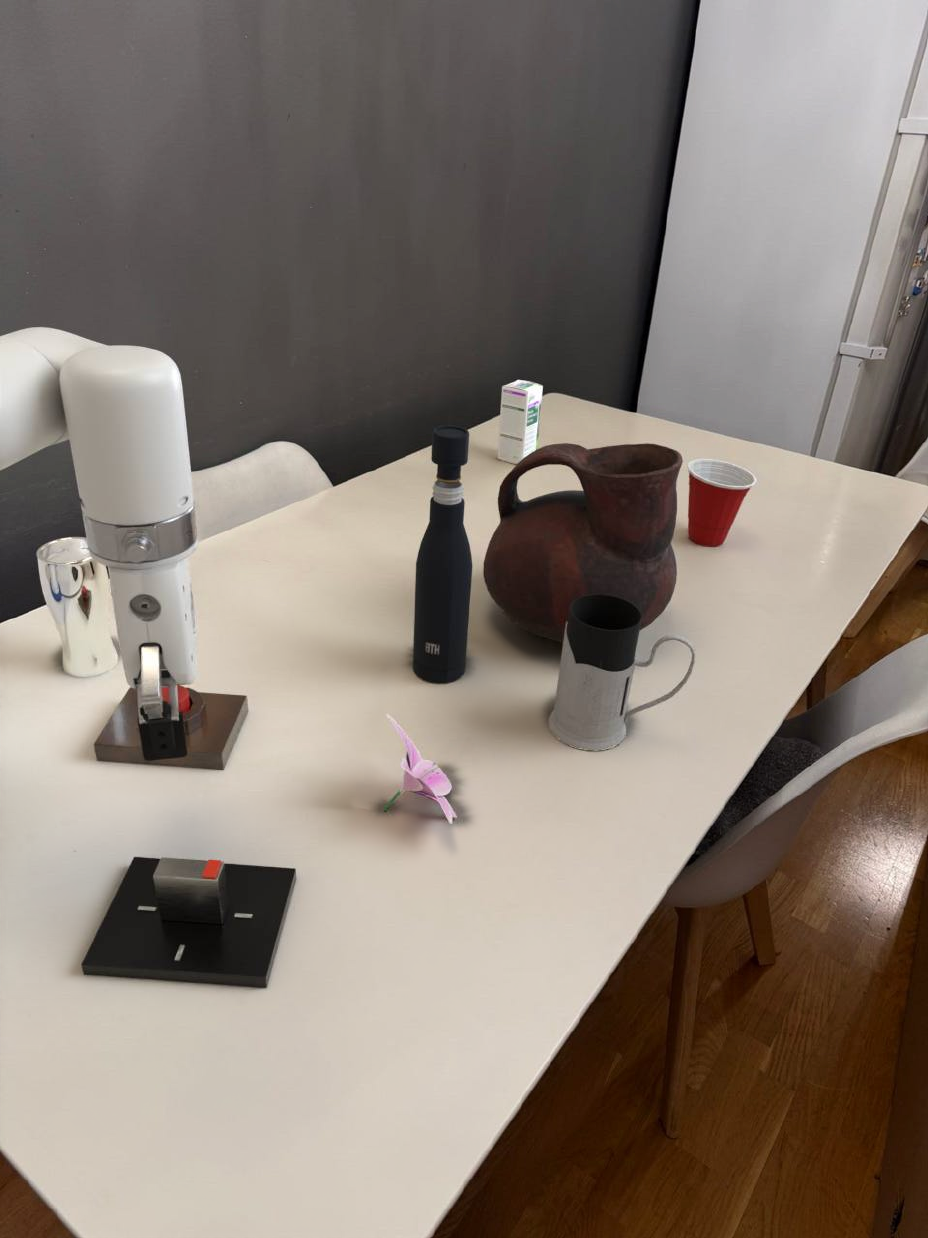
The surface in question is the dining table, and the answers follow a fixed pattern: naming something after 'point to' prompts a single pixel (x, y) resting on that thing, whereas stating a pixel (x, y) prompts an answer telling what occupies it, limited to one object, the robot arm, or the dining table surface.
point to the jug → (586, 535)
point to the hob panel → (194, 931)
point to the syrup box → (519, 420)
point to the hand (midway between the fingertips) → (168, 718)
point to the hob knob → (191, 890)
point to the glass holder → (600, 672)
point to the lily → (422, 776)
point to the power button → (182, 697)
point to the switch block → (206, 731)
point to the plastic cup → (715, 499)
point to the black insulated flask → (444, 568)
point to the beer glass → (78, 605)
